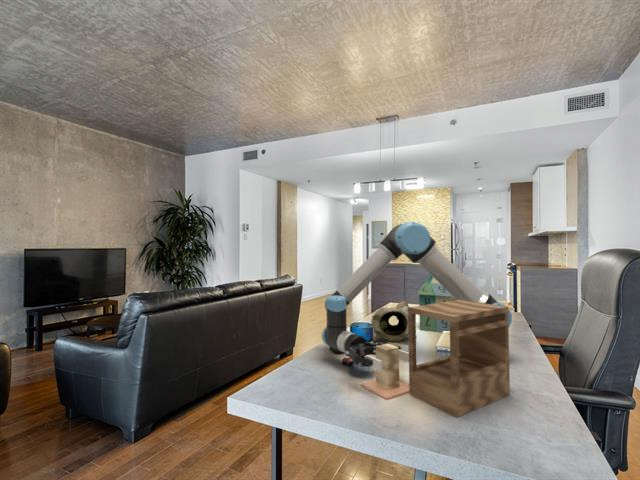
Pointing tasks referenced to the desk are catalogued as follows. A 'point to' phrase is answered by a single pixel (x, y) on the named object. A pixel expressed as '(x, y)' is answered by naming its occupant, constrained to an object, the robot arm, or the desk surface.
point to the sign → (348, 361)
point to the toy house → (431, 295)
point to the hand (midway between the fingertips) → (396, 362)
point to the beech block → (388, 366)
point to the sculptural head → (385, 328)
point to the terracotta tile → (386, 393)
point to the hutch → (463, 357)
